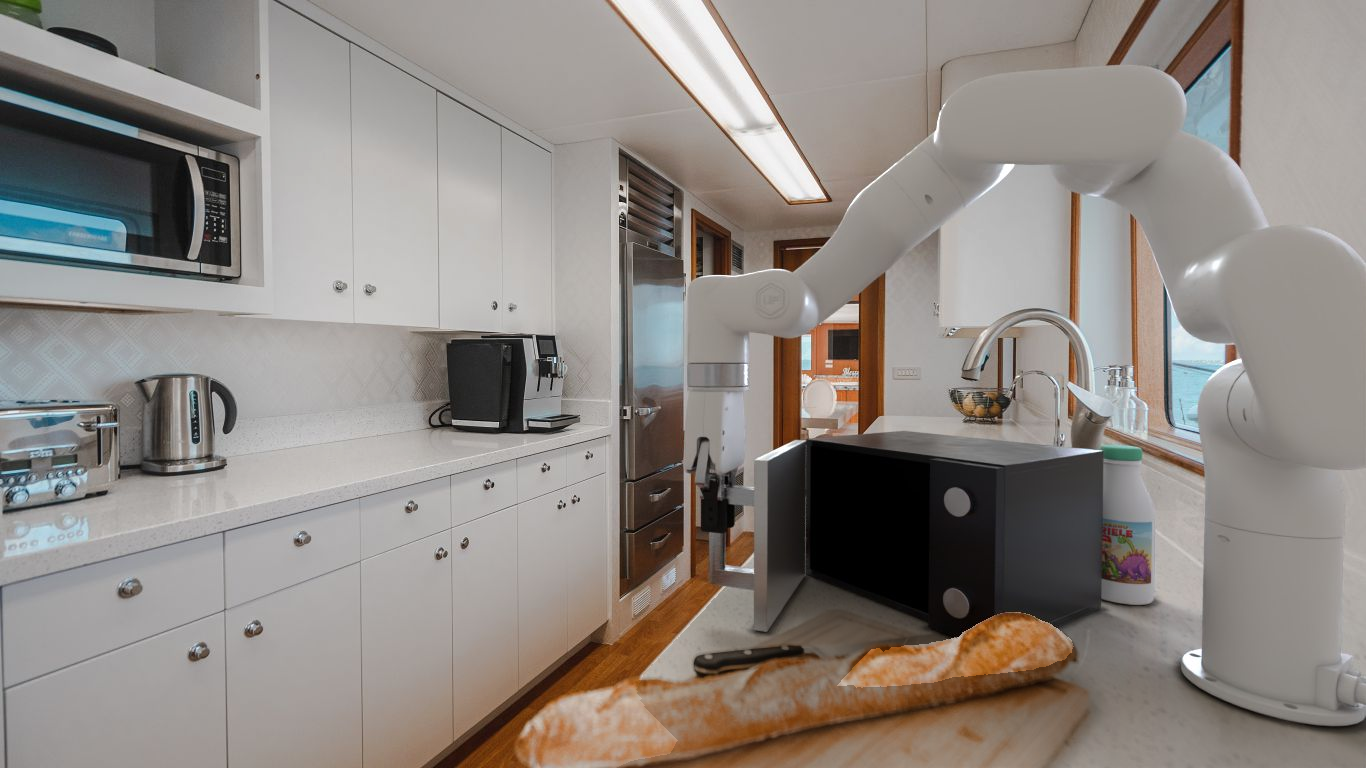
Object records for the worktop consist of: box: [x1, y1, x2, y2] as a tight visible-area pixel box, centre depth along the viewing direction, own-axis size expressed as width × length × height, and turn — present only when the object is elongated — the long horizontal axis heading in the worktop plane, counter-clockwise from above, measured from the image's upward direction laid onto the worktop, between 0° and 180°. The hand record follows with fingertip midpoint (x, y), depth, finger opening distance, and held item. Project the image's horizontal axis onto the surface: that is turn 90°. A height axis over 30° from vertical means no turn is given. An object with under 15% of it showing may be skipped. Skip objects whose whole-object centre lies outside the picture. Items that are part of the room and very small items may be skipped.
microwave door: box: [708, 439, 807, 633], centre depth 83 cm, size 8×22×20 cm, turn 157°
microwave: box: [805, 430, 1104, 639], centre depth 85 cm, size 24×30×20 cm
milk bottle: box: [1099, 444, 1157, 606], centre depth 83 cm, size 8×8×20 cm
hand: (717, 528), depth 77 cm, fingers closed, pressing on microwave door
